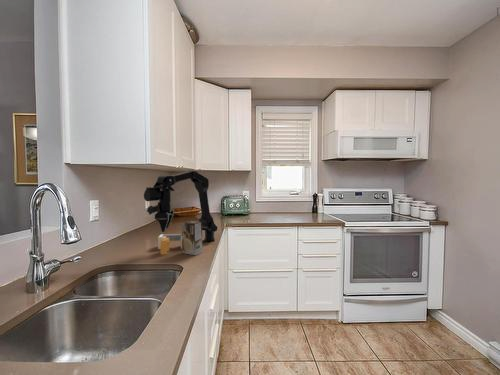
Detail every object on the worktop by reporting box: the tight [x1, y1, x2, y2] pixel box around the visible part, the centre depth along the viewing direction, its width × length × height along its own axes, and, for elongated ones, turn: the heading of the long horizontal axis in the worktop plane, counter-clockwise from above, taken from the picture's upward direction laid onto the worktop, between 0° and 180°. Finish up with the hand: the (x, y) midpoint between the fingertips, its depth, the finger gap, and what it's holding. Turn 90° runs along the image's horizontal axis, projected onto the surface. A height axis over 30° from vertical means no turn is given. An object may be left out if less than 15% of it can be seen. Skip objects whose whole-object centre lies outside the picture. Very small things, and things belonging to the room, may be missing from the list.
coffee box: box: [181, 220, 203, 256], centre depth 134 cm, size 9×6×16 cm
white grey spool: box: [157, 233, 182, 250], centre depth 144 cm, size 16×7×7 cm, turn 97°
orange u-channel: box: [160, 238, 170, 256], centre depth 134 cm, size 7×3×7 cm, turn 7°
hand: (165, 229), depth 133 cm, fingers open, 9 cm apart
